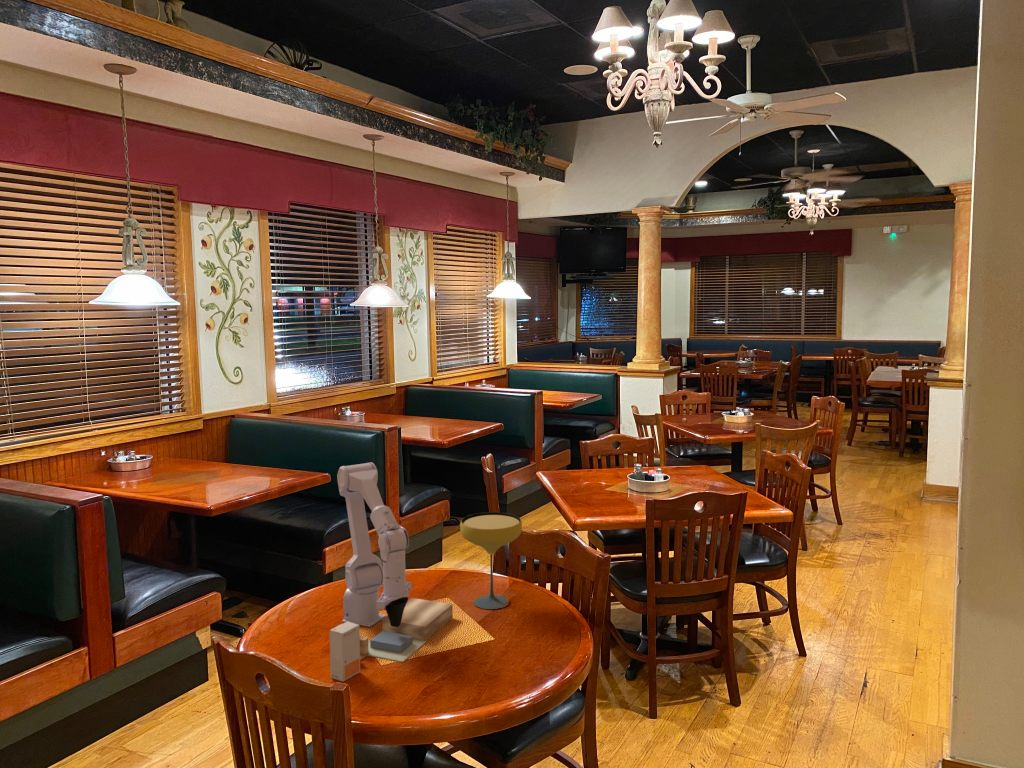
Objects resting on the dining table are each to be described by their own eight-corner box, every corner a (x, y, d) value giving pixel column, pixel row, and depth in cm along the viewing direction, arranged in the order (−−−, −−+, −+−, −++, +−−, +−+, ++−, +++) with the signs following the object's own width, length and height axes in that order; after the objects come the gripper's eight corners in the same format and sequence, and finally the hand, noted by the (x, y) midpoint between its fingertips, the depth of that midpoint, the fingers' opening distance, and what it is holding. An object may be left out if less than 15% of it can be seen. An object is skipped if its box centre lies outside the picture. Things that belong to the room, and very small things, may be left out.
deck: (382, 633, 205) (382, 619, 205) (412, 611, 220) (411, 597, 219) (425, 641, 200) (425, 626, 200) (452, 617, 215) (452, 604, 215)
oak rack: (338, 660, 190) (337, 644, 189) (352, 650, 195) (351, 634, 195) (355, 664, 188) (354, 647, 187) (368, 653, 193) (368, 637, 193)
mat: (354, 653, 194) (354, 652, 194) (380, 634, 205) (380, 633, 205) (402, 662, 189) (402, 661, 189) (426, 642, 200) (426, 641, 200)
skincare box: (343, 682, 179) (341, 633, 177) (330, 678, 181) (328, 629, 180) (361, 672, 184) (360, 624, 183) (348, 667, 186) (346, 620, 185)
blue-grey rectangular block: (382, 630, 201) (382, 638, 202) (370, 640, 196) (370, 647, 196) (412, 636, 198) (412, 643, 198) (400, 645, 193) (401, 653, 193)
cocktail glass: (448, 604, 225) (447, 521, 222) (489, 586, 238) (488, 508, 236) (494, 620, 213) (493, 533, 210) (534, 601, 227) (534, 519, 224)
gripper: (393, 586, 189) (394, 639, 190) (421, 567, 202) (422, 617, 204) (368, 583, 192) (370, 635, 193) (398, 564, 205) (399, 613, 206)
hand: (395, 625), depth 199 cm, fingers closed
